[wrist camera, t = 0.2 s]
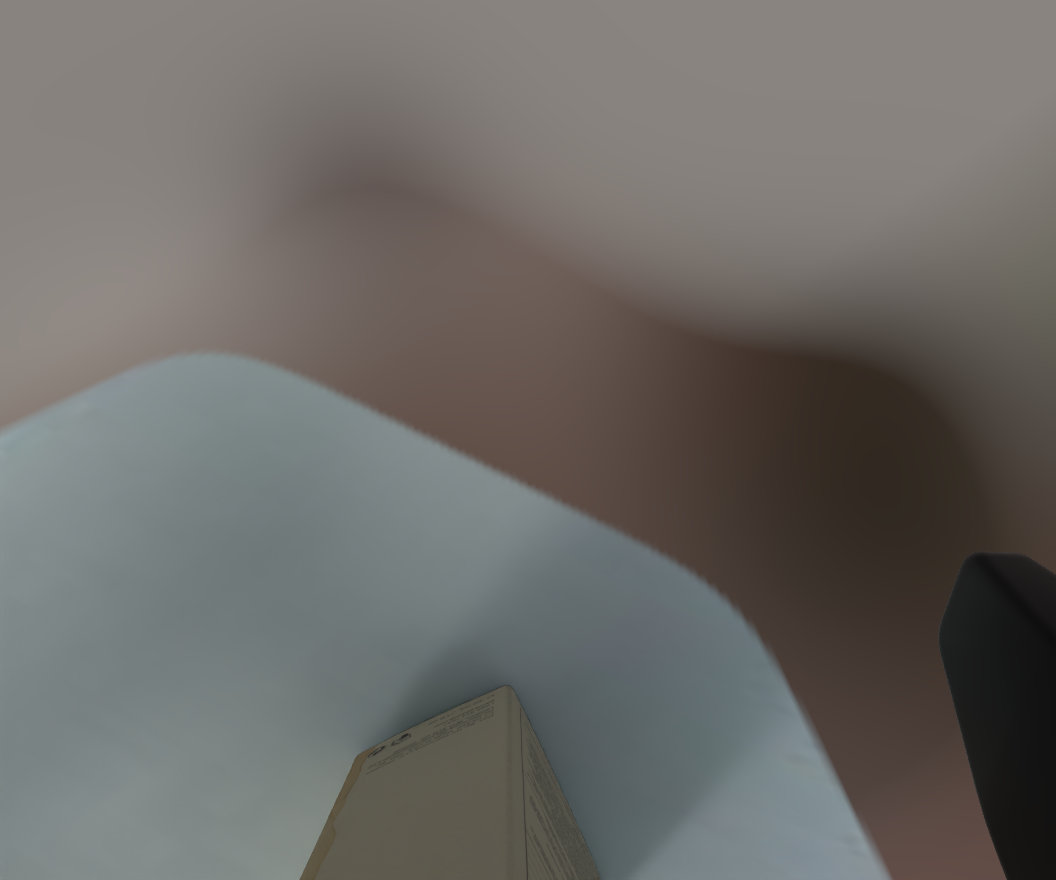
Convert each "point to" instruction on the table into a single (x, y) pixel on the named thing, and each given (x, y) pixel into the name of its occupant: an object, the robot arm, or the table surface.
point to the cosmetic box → (454, 805)
